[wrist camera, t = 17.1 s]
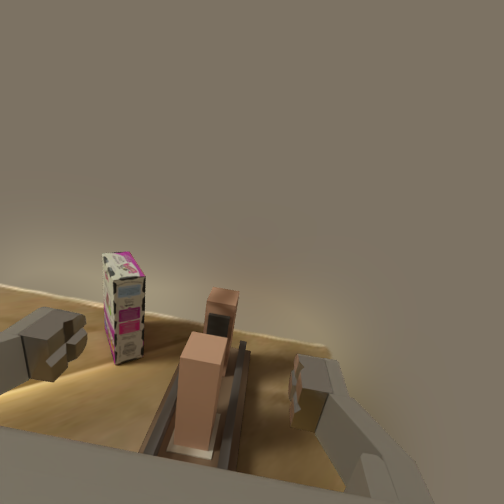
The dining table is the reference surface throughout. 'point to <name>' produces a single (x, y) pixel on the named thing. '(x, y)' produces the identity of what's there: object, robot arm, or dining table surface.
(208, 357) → the tall tan pillar
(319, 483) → the dining table surface
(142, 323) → the candy bar box
